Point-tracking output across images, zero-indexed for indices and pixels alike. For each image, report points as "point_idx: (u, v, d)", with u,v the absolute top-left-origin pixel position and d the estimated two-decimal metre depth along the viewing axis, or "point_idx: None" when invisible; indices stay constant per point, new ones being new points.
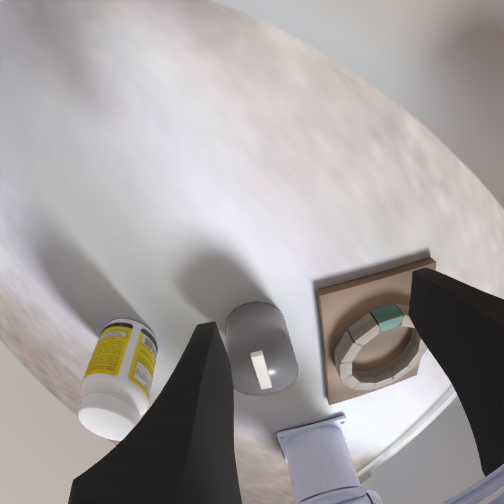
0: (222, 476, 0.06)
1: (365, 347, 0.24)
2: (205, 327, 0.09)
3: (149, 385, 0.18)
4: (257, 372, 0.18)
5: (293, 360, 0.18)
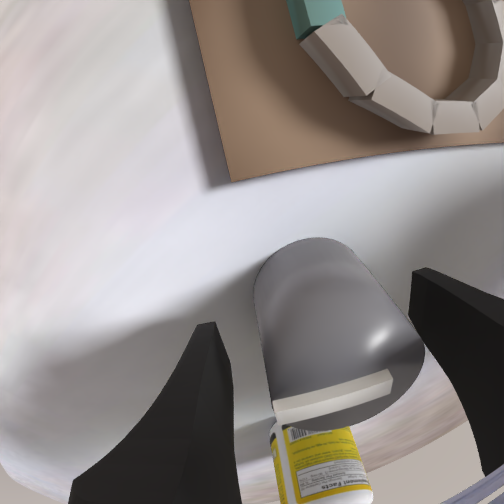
0: (222, 476, 0.06)
1: (411, 47, 0.07)
2: (205, 327, 0.09)
3: (334, 475, 0.11)
4: (329, 411, 0.07)
5: (326, 342, 0.07)
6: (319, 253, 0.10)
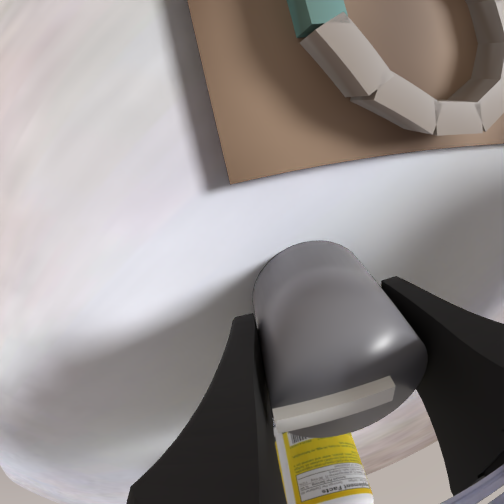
0: (274, 469, 0.06)
1: (413, 47, 0.07)
2: (244, 319, 0.09)
3: (334, 478, 0.11)
4: (330, 419, 0.07)
5: (327, 351, 0.06)
6: (320, 257, 0.10)
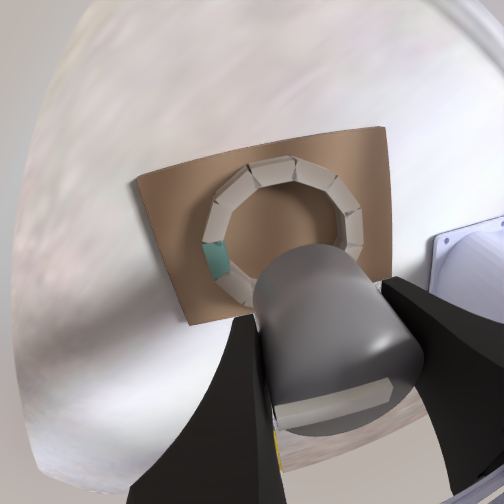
0: (274, 469, 0.06)
1: None
2: (244, 319, 0.09)
3: None
4: (329, 418, 0.07)
5: (333, 350, 0.07)
6: (323, 260, 0.10)
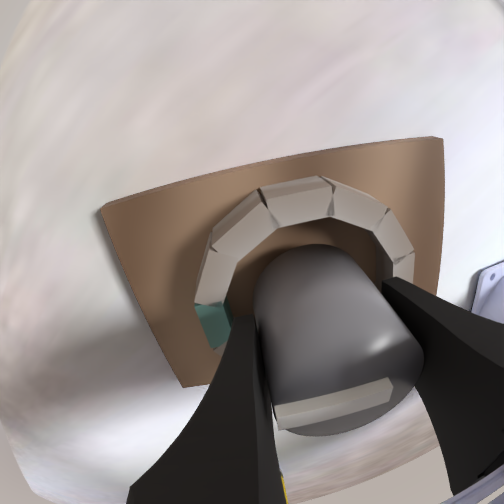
0: (274, 469, 0.06)
1: None
2: (244, 319, 0.09)
3: None
4: (329, 417, 0.07)
5: (333, 350, 0.07)
6: (323, 260, 0.10)
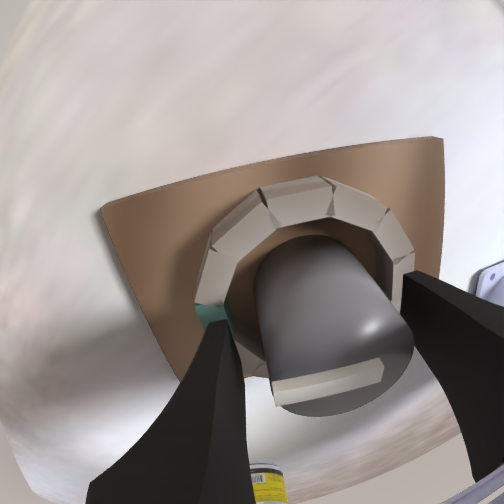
0: (238, 474, 0.06)
1: None
2: (217, 325, 0.09)
3: None
4: (324, 395, 0.08)
5: (325, 327, 0.07)
6: (319, 248, 0.11)
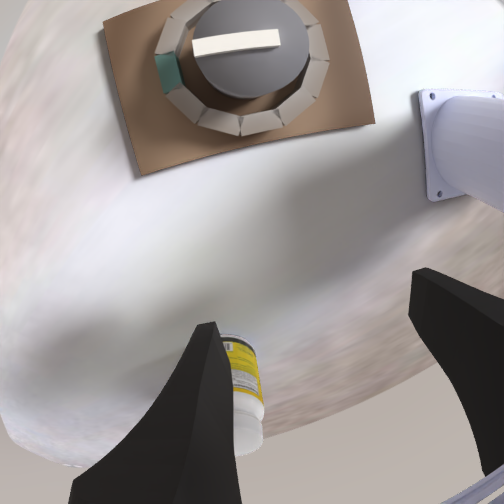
0: (222, 476, 0.06)
1: None
2: (205, 327, 0.09)
3: None
4: (232, 47, 0.09)
5: None
6: None
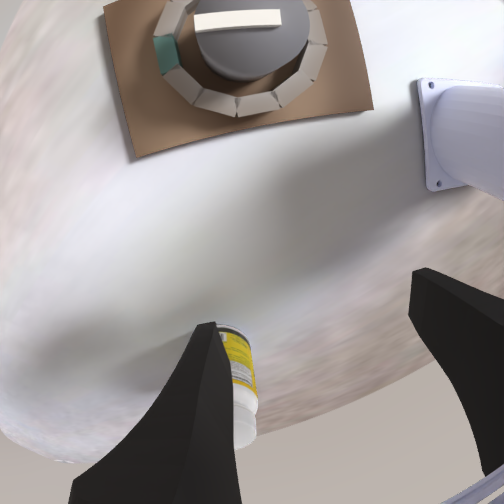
0: (222, 476, 0.06)
1: None
2: (205, 327, 0.09)
3: None
4: (233, 24, 0.09)
5: None
6: None
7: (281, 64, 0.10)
